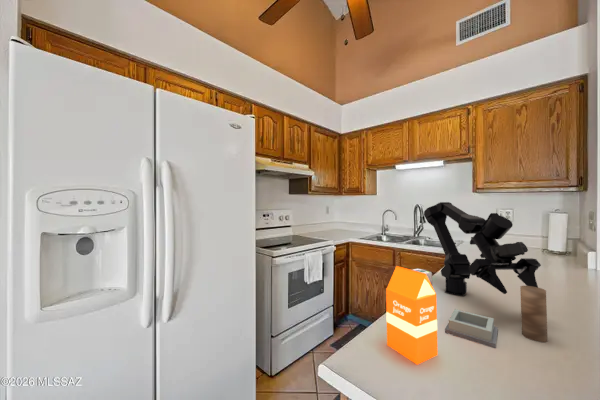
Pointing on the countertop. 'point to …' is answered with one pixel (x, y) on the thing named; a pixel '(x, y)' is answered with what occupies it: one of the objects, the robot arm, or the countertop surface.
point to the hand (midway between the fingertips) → (521, 293)
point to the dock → (473, 327)
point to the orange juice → (411, 315)
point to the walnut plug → (534, 313)
